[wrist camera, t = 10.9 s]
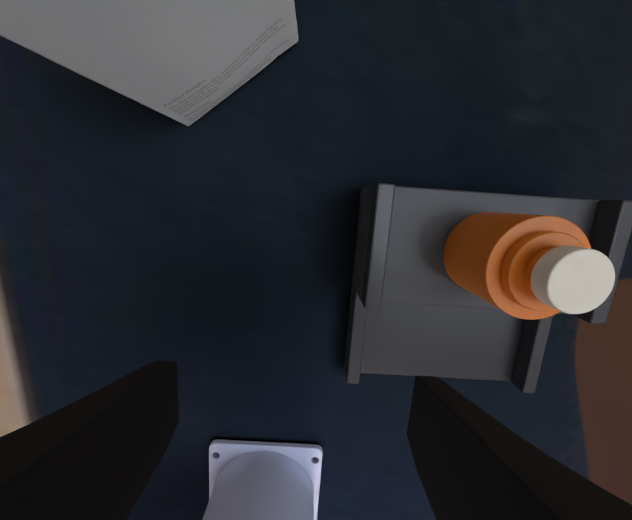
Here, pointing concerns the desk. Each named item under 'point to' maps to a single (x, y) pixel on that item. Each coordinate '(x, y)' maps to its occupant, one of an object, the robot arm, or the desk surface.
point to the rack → (452, 286)
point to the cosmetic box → (157, 45)
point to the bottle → (528, 264)
